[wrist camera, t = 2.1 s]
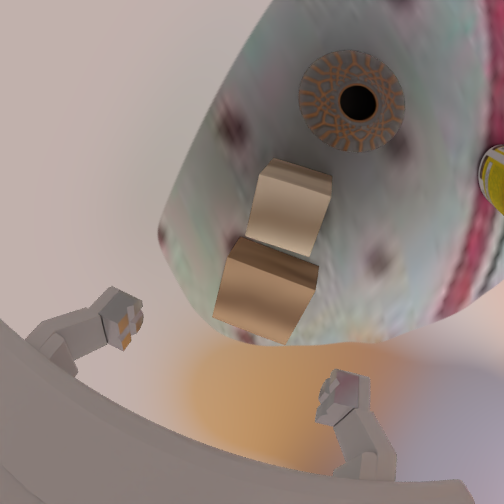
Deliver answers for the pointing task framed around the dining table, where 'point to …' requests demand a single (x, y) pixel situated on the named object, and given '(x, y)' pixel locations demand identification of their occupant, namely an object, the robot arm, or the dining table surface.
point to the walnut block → (264, 290)
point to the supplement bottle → (493, 176)
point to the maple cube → (289, 206)
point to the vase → (351, 101)
